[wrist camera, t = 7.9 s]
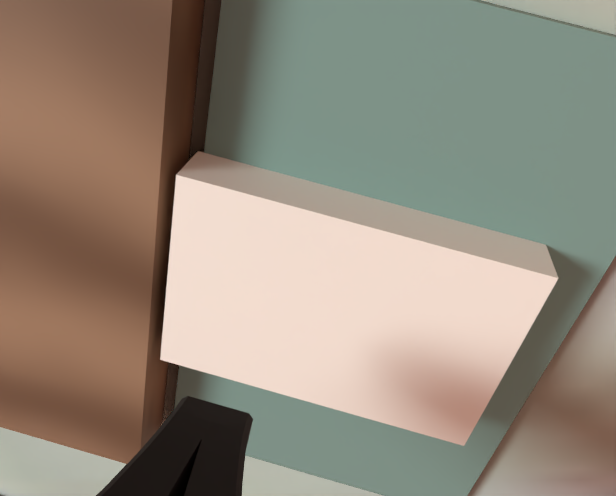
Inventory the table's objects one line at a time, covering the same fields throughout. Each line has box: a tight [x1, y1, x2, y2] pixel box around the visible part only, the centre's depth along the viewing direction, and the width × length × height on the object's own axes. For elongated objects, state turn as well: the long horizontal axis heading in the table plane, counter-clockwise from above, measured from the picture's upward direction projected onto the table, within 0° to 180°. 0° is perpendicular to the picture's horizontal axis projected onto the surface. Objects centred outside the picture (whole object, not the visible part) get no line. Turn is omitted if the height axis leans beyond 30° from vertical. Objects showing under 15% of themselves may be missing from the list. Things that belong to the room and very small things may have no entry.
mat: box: [174, 0, 616, 496], centre depth 16 cm, size 16×10×1 cm, turn 168°
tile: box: [160, 151, 558, 446], centre depth 15 cm, size 6×9×2 cm, turn 78°
